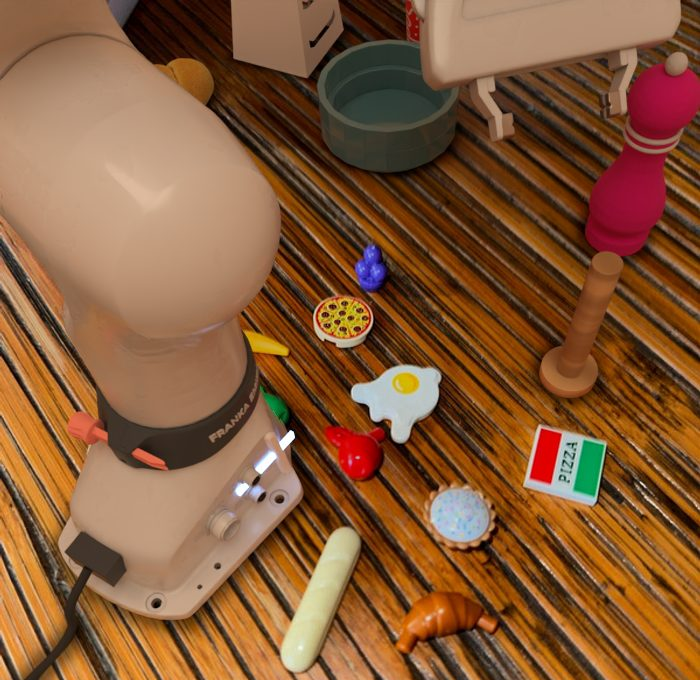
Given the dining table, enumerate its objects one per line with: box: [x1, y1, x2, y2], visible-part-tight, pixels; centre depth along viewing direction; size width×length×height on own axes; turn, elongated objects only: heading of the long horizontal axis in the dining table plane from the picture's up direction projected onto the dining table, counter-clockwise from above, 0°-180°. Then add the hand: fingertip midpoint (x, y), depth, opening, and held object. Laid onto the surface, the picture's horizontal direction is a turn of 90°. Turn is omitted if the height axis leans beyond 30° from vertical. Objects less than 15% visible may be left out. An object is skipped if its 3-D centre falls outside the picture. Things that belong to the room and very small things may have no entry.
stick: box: [538, 251, 624, 399], centre depth 65 cm, size 5×5×15 cm
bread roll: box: [154, 57, 215, 106], centre depth 92 cm, size 8×9×4 cm
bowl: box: [316, 39, 461, 174], centre depth 86 cm, size 16×16×6 cm
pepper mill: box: [584, 51, 700, 258], centre depth 71 cm, size 7×7×20 cm
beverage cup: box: [405, 0, 420, 44], centre depth 89 cm, size 6×6×14 cm
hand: (558, 128), depth 61 cm, fingers open, 8 cm apart
